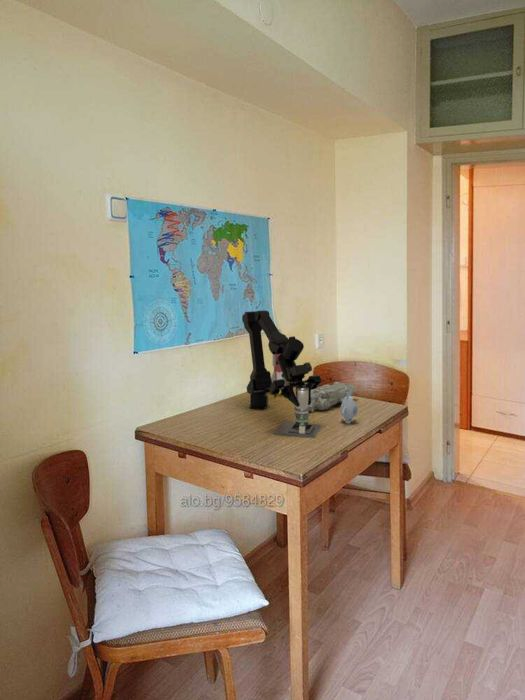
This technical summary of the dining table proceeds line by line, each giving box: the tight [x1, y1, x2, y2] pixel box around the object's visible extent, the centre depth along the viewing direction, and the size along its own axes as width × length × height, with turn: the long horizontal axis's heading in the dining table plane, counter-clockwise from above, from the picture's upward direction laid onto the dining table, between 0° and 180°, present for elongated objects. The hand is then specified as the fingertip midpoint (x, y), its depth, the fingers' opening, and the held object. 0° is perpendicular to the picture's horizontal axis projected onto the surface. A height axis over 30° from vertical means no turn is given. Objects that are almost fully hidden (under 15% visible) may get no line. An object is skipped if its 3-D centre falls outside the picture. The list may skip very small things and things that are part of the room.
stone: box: [308, 381, 358, 413], centre depth 219 cm, size 12×10×30 cm
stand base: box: [274, 421, 322, 439], centre depth 187 cm, size 14×12×4 cm
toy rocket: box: [267, 328, 286, 400], centre depth 233 cm, size 12×12×30 cm
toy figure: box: [339, 390, 358, 425], centre depth 196 cm, size 11×6×12 cm, turn 144°
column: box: [294, 386, 310, 426], centre depth 184 cm, size 5×5×13 cm
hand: (304, 405), depth 183 cm, fingers closed on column, 4 cm apart
